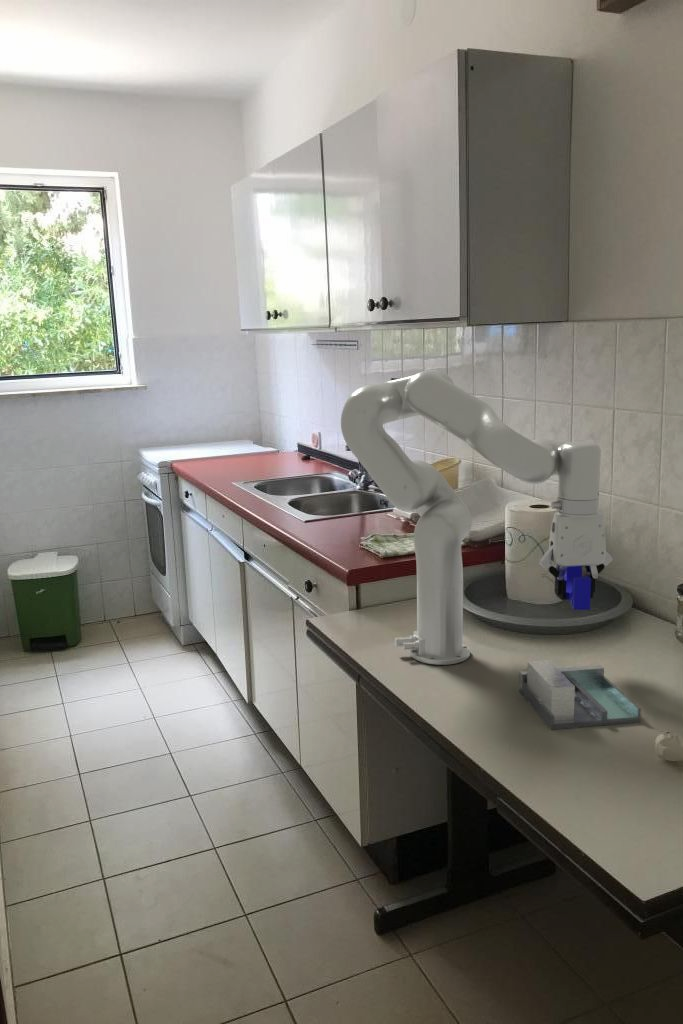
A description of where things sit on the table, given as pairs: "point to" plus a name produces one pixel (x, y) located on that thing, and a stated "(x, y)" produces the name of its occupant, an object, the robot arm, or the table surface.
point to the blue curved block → (577, 588)
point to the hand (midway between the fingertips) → (574, 596)
